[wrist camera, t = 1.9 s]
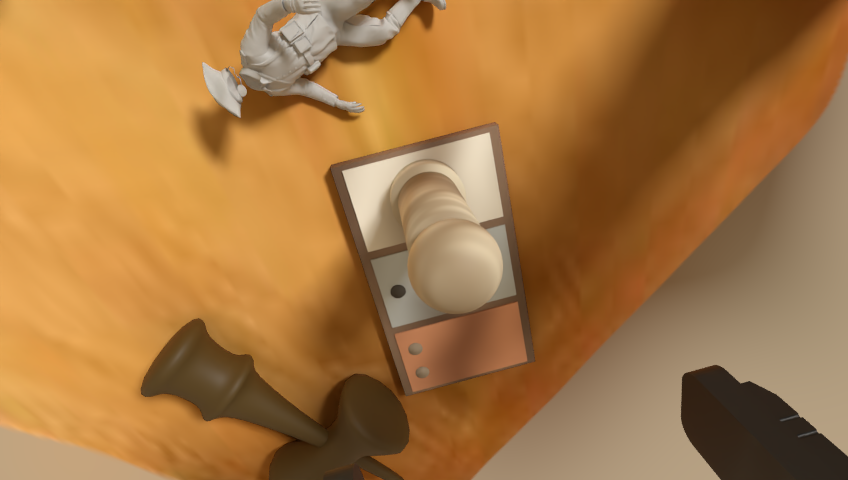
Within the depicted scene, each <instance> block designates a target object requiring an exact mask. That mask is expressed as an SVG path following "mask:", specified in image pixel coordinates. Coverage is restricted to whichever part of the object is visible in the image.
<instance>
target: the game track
mask: <svg viewBox="0 0 848 480" xmlns="http://www.w3.org/2000/svg"><path fill="white" fill-rule="evenodd" d="M422 159H433V160H438V161H441V162H443V163H445V164H447V165H448V166H450V167H451V168H452V169H453V170H454V171H455V172H456V174H457V175H458V177H459V178H460V180H461V181H462V183H463V185H464V187H465V191H466V203H467V204H468V206H469V208H470V209H471V211H472V213H473V214H474V216H475V217H476V219H477V221H478V222H479V224H480V226H481V227H483V228H484V229H486V230H487V231H488V232H489V233H490V234H491V235H492V237H493V238H494V239H495V241H496V242H497V244H498V246H499V249H500V251H501V255H502V259H503V274H502V279H501V282H500V284H499V287H498V289H497V291H496V292H495V294H494V295H493V296H492V297H491V299H490V300H489V301H487V302H486V303H485V304H484V305H483V306H481V307H479V308H478V309H476V310H473V311H471V312H467V313H462V314H449V313H443V312H440V311H438V310H435V309H433V308H431V307H430V306H428V305H427V304H425V303H424V302H423V301H422V300H421V299H420V298H419V297H418V295H417V294H416V293H415V291H414V289H413V288H412V285H411V283H410V280H409V276H408V267H407V263H408V256H409V254H408V249H407V244H406V240H405V235H404V230H403V227H402V226H401V225H400V224H399V223H398V222H397V220H396V219H395V217H394V215H393V212H392V207H391V202H390V189H391V185H392V182H393V180H394V178H395V177H396V175H397V174H398V173H399V171H400V170H401V169H403V168H404V167H405V166H406V165H408V164H410V163H412V162H414V161H417V160H422ZM330 169H331V172H332V175H333V178H334V181H335V184H336V187H337V190H338V193H339V196H340V199H341V202H342V205H343V208H344V211H345V214H346V217H347V220H348V223H349V226H350V229H351V232H352V235H353V238H354V241H355V244H356V247H357V250H358V253H359V256H360V259H361V262H362V265H363V268H364V271H365V274H366V277H367V280H368V283H369V286H370V289H371V292H372V295H373V298H374V301H375V304H376V307H377V310H378V313H379V316H380V320H381V323H382V326H383V329H384V332H385V335H386V338H387V341H388V344H389V347H390V350H391V353H392V356H393V359H394V362H395V365H396V368H397V371H398V374H399V377H400V380H401V383H402V386H403V389H404V392H405V395H406V396H409V395H413V394H416V393H420V392H424V391H427V390H431V389H435V388H438V387H442V386H446V385H450V384H453V383H457V382H461V381H464V380H468V379H472V378H475V377H479V376H483V375H486V374H490V373H494V372H498V371H501V370H505V369H509V368H512V367H516V366H520V365H523V364H527V363H531V362H535V356H534V350H533V343H532V337H531V331H530V324H529V318H528V311H527V305H526V299H525V292H524V286H523V279H522V273H521V267H520V260H519V254H518V247H517V241H516V235H515V228H514V222H513V215H512V209H511V203H510V196H509V190H508V183H507V177H506V171H505V164H504V158H503V151H502V145H501V139H500V132H499V126H498V124H496V123H495V122H494V123H490V124H486V125H482V126H478V127H475V128H471V129H467V130H463V131H459V132H455V133H452V134H448V135H444V136H440V137H436V138H432V139H429V140H425V141H421V142H417V143H413V144H409V145H406V146H402V147H398V148H394V149H390V150H387V151H383V152H379V153H375V154H371V155H367V156H364V157H360V158H356V159H352V160H348V161H344V162H341V163H337V164H333V165H331V168H330Z"/></svg>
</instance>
